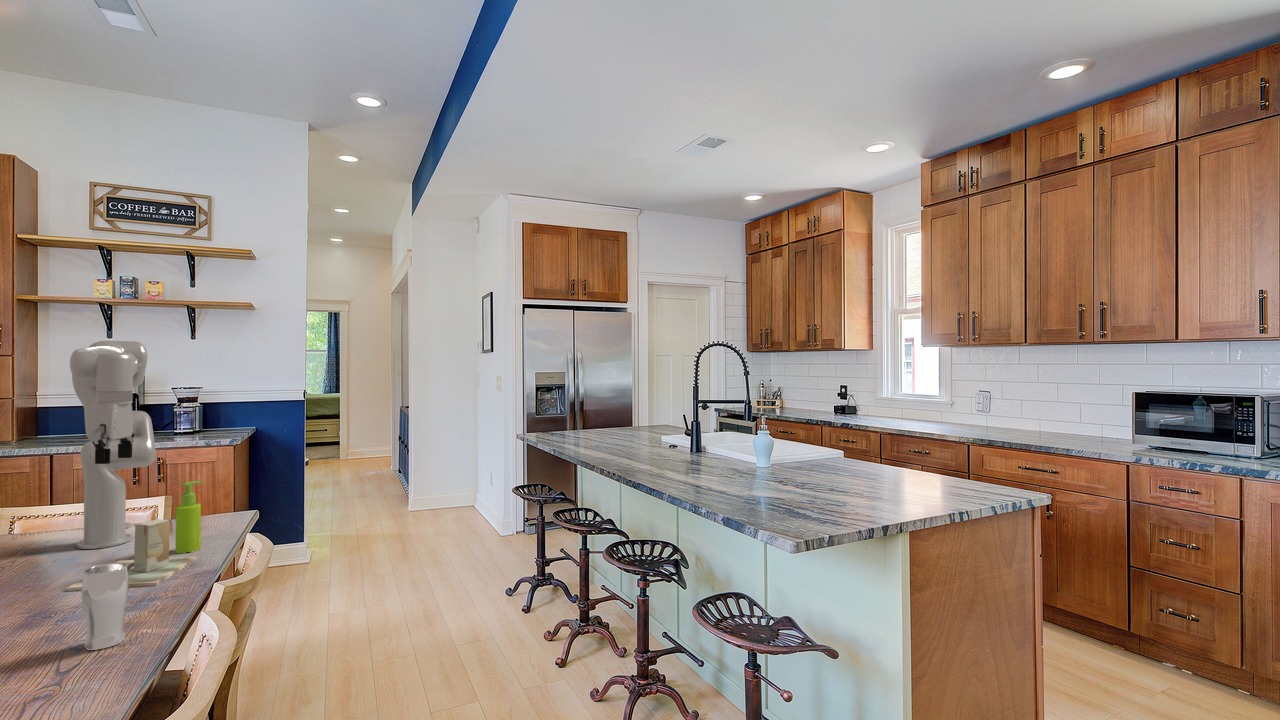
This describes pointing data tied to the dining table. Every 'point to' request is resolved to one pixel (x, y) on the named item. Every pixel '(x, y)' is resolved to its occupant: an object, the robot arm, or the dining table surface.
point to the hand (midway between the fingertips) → (114, 460)
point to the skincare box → (151, 545)
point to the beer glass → (104, 604)
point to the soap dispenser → (188, 521)
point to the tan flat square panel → (147, 573)
